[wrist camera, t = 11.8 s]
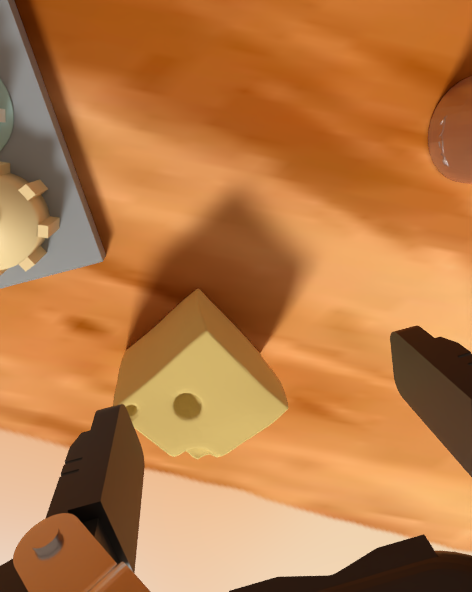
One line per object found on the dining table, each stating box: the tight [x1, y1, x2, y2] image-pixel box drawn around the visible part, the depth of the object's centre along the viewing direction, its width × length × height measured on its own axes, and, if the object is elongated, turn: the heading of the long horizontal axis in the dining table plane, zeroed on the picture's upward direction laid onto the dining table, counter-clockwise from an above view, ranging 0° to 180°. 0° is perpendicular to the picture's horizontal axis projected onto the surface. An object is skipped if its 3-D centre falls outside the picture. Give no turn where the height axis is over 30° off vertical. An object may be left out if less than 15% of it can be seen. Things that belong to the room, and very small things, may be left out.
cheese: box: [113, 288, 288, 459], centre depth 38 cm, size 10×11×10 cm
